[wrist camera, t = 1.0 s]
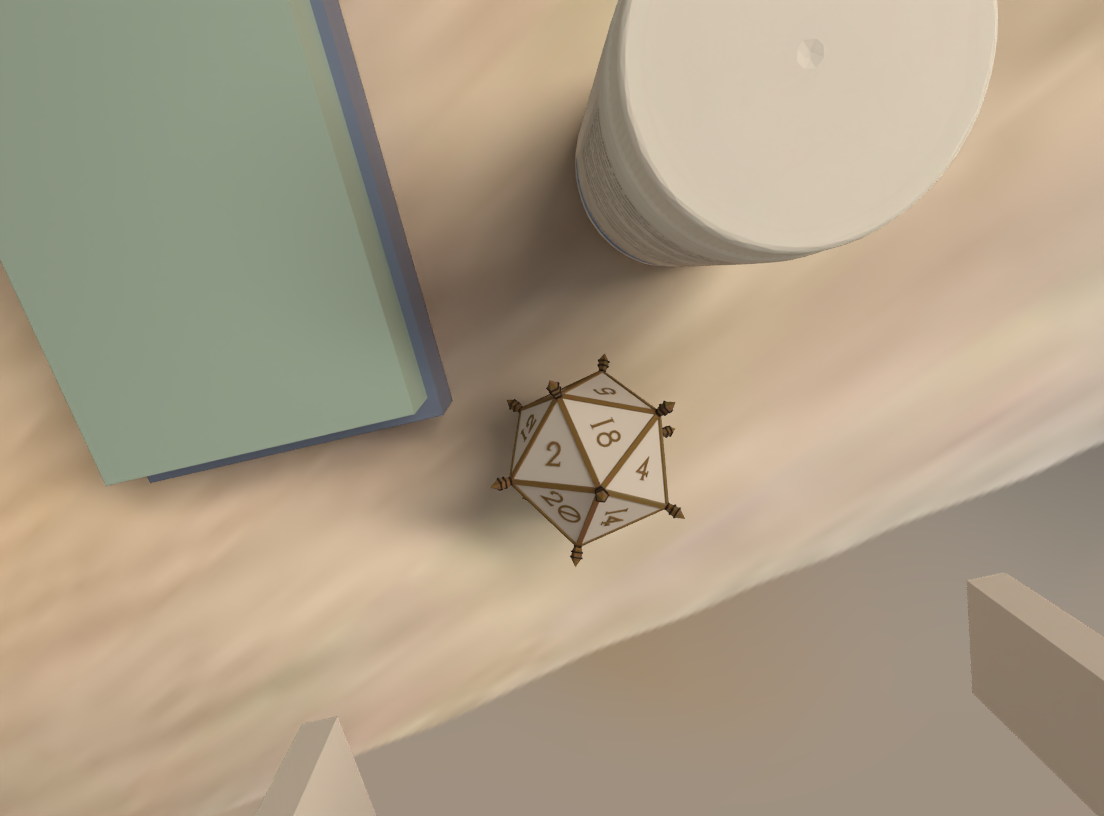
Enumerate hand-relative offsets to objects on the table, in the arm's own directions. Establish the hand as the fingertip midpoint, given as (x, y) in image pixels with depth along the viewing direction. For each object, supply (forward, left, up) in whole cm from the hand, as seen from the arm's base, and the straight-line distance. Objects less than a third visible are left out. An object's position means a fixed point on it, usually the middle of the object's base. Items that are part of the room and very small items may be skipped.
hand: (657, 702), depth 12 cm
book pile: (-14, -14, -20) cm, 28 cm away
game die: (0, 0, -20) cm, 20 cm away
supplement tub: (-12, +7, -20) cm, 24 cm away
